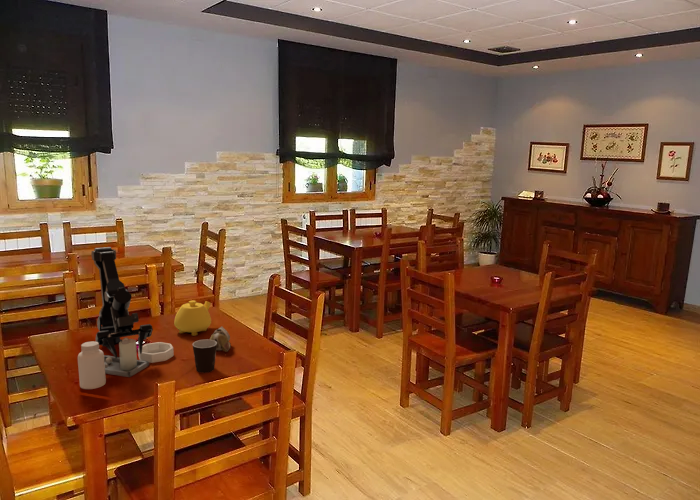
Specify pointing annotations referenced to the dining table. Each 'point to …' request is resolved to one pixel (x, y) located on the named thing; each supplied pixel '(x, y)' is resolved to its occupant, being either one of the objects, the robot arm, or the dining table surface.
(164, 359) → the bowl
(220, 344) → the ceramic sculpture
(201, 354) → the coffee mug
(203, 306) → the teapot
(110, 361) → the parts tray
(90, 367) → the pill bottle
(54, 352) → the dining table surface
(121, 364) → the pillar candle
